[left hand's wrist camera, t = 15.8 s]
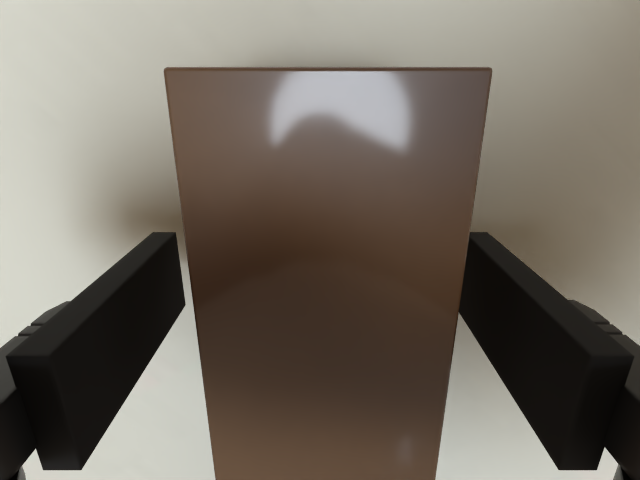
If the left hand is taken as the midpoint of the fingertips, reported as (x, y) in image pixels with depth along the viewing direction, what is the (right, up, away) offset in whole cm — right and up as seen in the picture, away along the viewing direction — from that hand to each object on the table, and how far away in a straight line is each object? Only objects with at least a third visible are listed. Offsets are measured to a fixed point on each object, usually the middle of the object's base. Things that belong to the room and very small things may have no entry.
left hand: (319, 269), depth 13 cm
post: (0, -19, +10) cm, 21 cm away
